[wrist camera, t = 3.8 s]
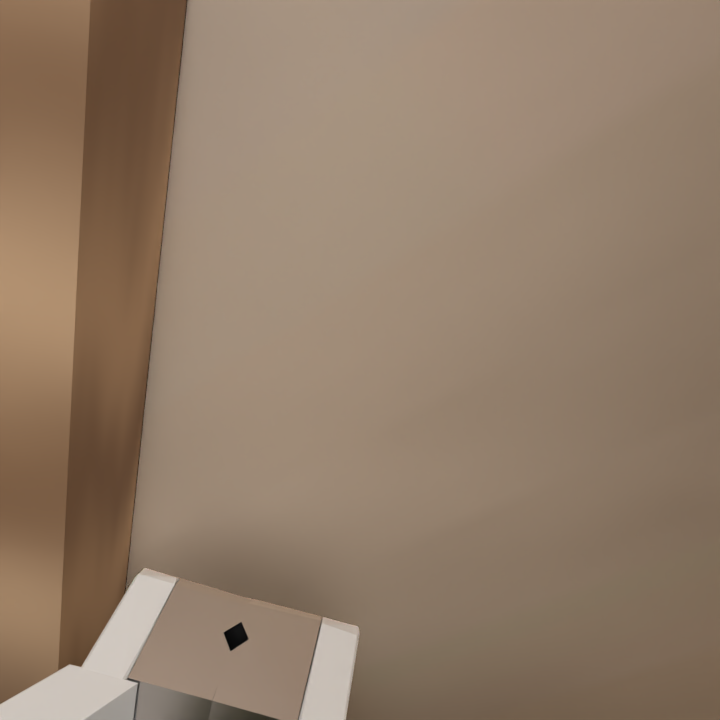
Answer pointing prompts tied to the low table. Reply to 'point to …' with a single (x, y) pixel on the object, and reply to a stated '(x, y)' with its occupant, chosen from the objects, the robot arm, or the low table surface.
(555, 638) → the low table surface
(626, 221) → the low table surface
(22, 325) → the board
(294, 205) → the low table surface
